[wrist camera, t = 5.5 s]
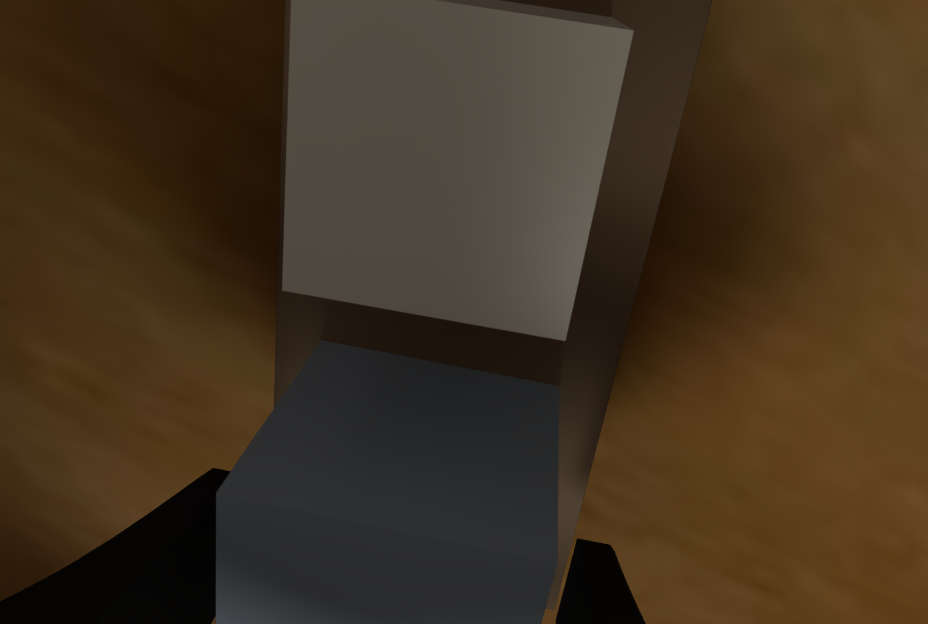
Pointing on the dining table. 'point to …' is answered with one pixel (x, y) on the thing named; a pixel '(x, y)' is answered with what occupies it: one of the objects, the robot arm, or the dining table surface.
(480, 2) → the grey block
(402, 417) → the grey cube
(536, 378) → the base slab
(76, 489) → the dining table surface
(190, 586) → the robot arm
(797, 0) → the dining table surface
